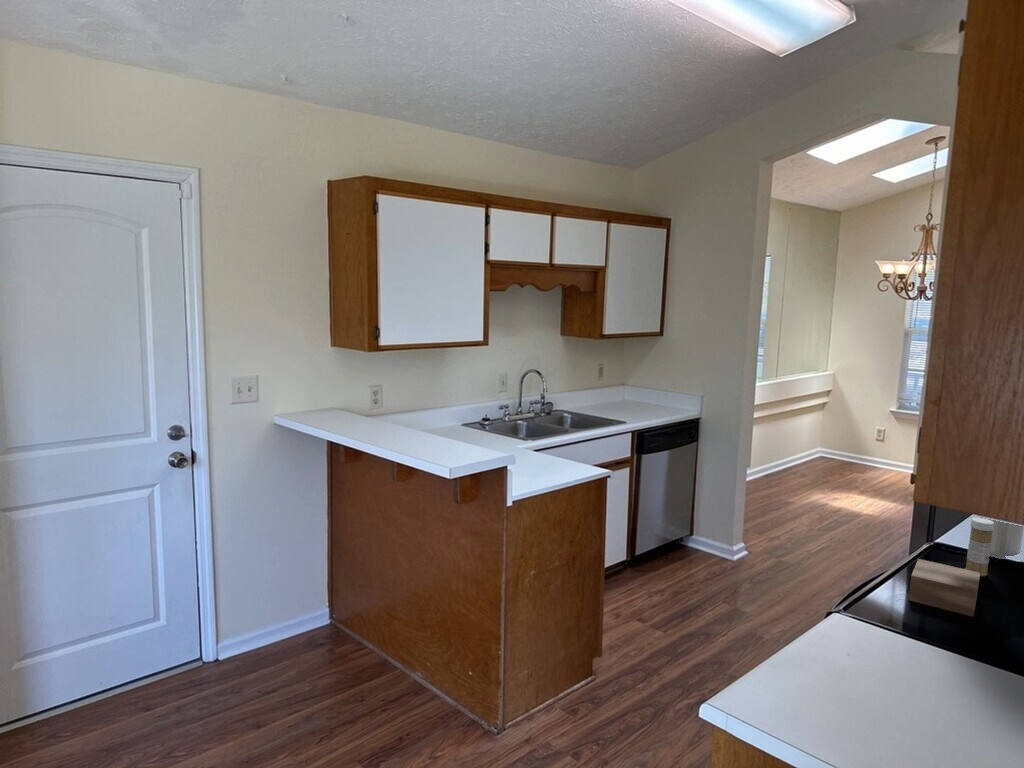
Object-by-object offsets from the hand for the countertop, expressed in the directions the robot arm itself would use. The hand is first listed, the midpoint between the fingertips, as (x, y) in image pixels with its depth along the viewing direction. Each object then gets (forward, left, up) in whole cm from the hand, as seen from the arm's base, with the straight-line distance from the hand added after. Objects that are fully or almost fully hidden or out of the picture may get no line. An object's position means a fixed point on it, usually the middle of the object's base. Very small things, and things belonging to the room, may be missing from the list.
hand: (968, 488), depth 157 cm
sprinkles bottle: (-11, +2, -23) cm, 26 cm away
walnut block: (+11, 0, -23) cm, 26 cm away
